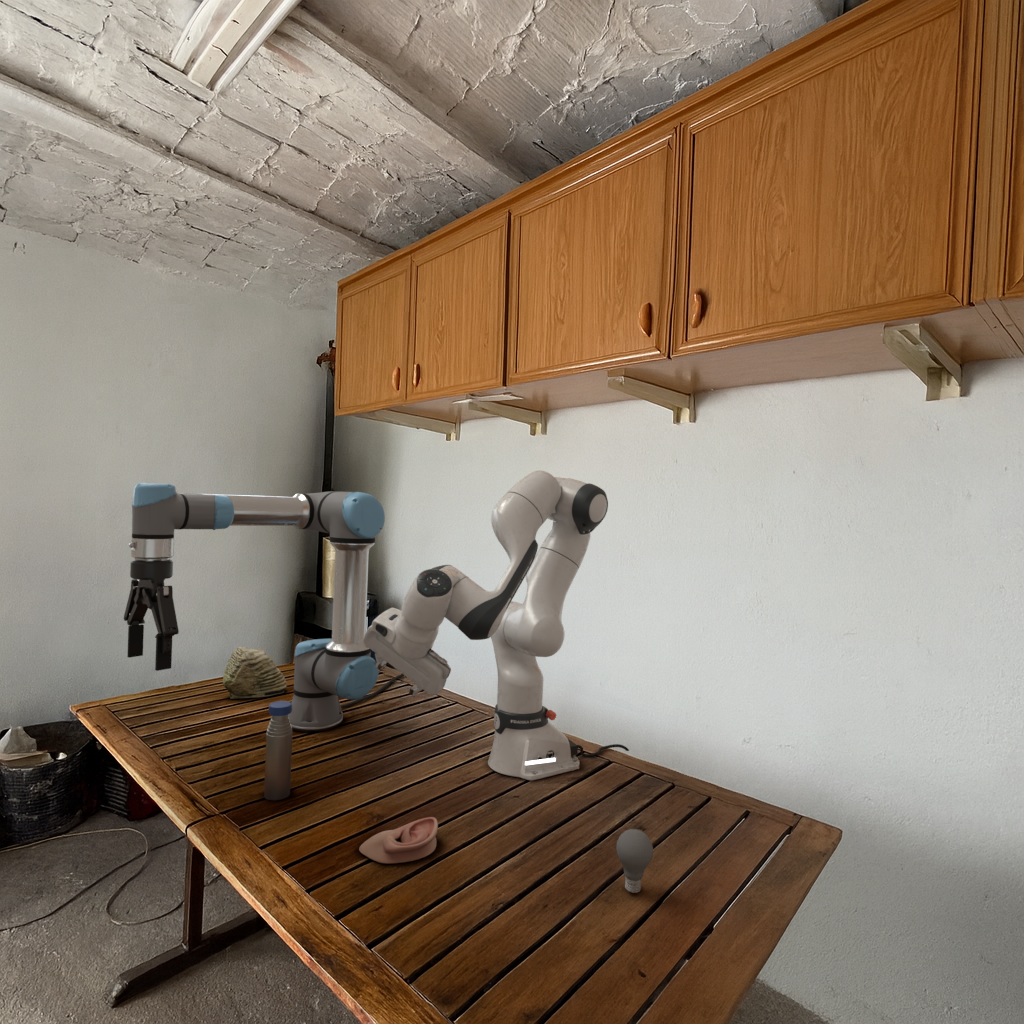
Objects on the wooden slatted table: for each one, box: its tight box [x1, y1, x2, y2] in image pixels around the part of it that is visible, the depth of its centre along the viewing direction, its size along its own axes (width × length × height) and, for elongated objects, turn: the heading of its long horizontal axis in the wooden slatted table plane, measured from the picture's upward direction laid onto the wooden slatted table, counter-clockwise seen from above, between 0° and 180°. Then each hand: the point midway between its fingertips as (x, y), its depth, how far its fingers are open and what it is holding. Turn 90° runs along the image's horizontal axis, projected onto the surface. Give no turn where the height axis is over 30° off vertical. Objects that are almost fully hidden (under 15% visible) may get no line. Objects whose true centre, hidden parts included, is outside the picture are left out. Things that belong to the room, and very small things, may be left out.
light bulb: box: [615, 828, 654, 894], centre depth 106 cm, size 6×6×10 cm
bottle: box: [263, 715, 293, 801], centre depth 134 cm, size 5×5×19 cm
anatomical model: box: [358, 816, 439, 864], centre depth 116 cm, size 13×4×12 cm
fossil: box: [222, 646, 288, 699], centre depth 198 cm, size 9×18×15 cm, turn 132°
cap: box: [268, 700, 292, 716], centre depth 134 cm, size 4×4×2 cm
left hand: (148, 662), depth 129 cm, fingers open, 13 cm apart
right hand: (396, 680), depth 138 cm, fingers open, 8 cm apart
